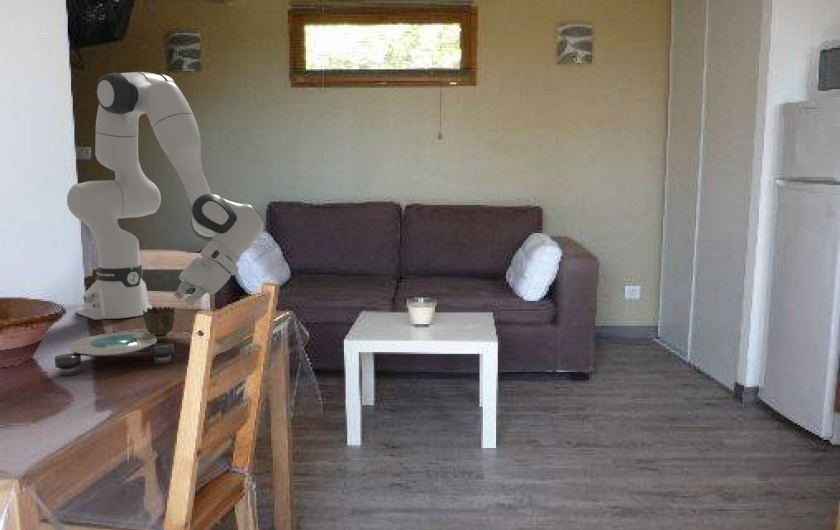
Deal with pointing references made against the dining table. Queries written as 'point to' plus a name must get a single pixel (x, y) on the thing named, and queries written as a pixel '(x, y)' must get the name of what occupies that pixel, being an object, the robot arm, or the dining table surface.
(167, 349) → the leveling base
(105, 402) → the dining table surface
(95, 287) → the robot arm
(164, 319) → the cup
